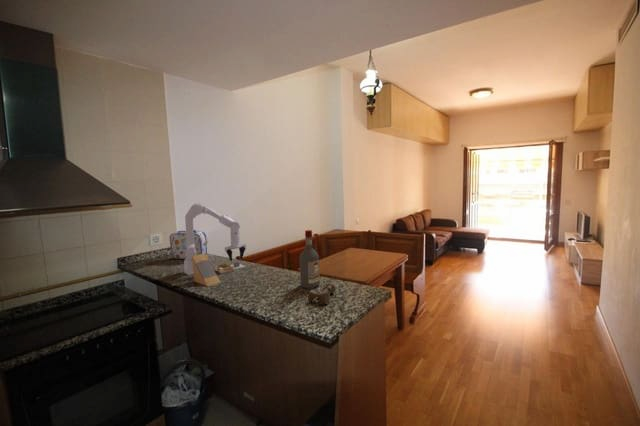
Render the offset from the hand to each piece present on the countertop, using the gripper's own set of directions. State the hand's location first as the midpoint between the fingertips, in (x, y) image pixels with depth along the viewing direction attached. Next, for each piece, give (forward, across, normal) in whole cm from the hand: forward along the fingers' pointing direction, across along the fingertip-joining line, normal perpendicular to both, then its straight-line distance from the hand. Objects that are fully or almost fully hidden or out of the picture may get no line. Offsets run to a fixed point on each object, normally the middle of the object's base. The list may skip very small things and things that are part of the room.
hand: (236, 259), depth 206 cm
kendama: (+5, +3, -82) cm, 82 cm away
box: (+5, -10, -3) cm, 11 cm away
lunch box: (+5, -14, +46) cm, 48 cm away
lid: (+6, 0, 0) cm, 6 cm away
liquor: (+5, +11, -63) cm, 64 cm away
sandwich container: (+6, -26, -15) cm, 31 cm away
